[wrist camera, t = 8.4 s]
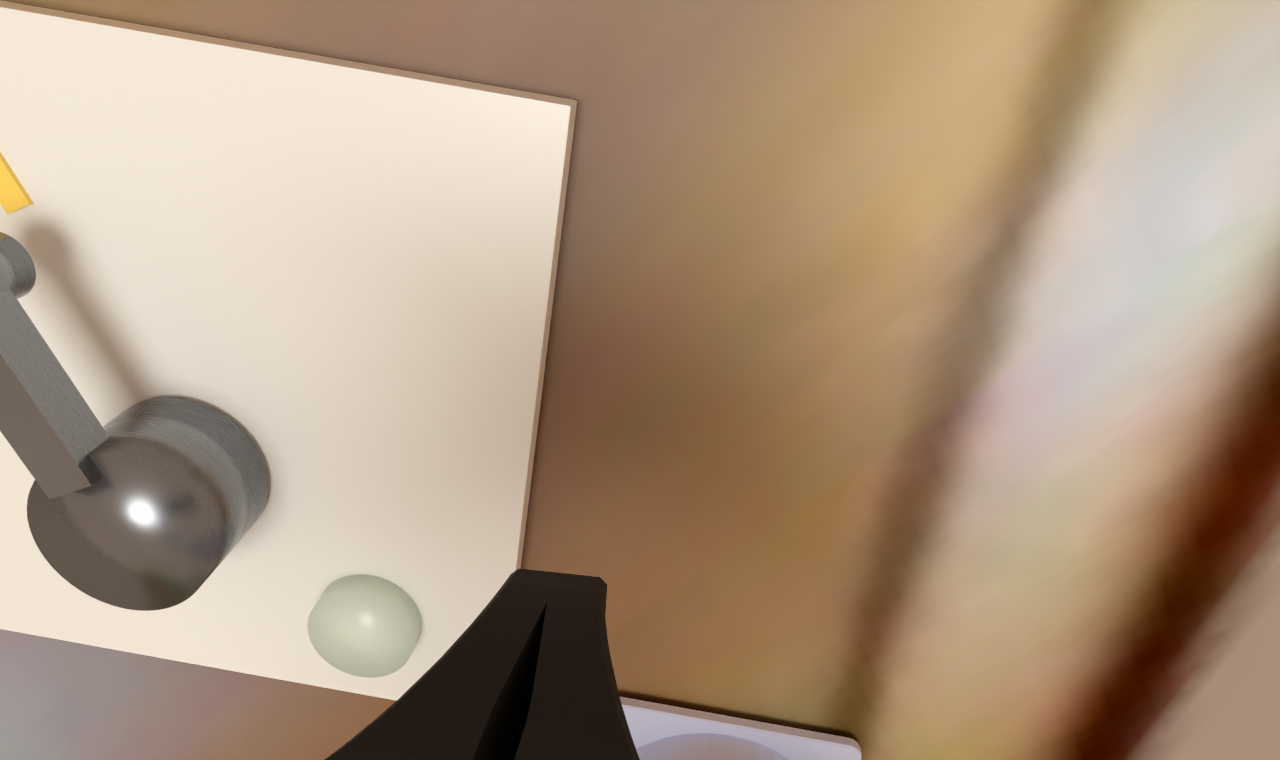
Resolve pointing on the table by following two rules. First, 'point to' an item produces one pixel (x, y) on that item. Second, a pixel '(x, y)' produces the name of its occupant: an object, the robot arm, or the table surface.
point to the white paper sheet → (290, 326)
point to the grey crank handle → (120, 472)
